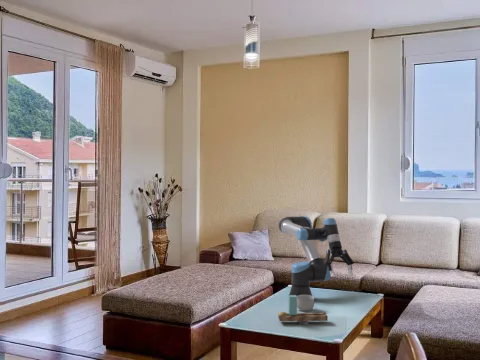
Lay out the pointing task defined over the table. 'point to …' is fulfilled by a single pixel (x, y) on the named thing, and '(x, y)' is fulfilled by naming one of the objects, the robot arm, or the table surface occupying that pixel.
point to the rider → (292, 305)
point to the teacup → (305, 302)
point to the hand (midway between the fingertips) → (342, 276)
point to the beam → (302, 317)
